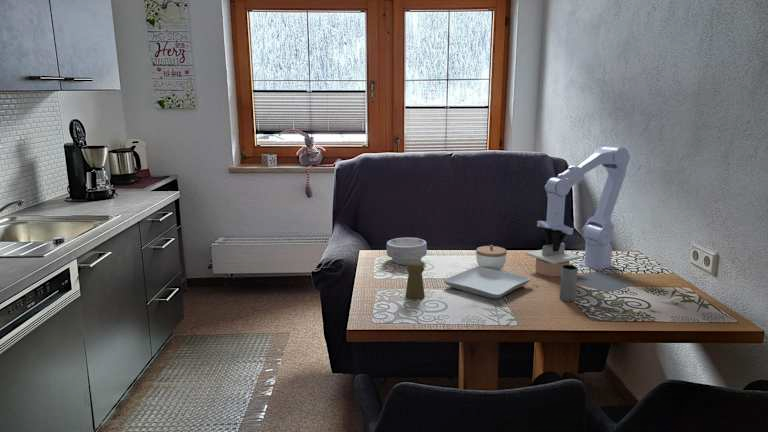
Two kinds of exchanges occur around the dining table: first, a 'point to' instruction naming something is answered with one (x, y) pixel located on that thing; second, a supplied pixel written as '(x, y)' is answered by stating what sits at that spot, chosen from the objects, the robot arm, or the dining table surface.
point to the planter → (568, 283)
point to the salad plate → (486, 282)
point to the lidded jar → (491, 257)
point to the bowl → (549, 267)
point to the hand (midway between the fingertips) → (553, 250)
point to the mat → (603, 281)
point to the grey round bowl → (406, 250)
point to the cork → (415, 281)
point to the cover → (553, 254)
